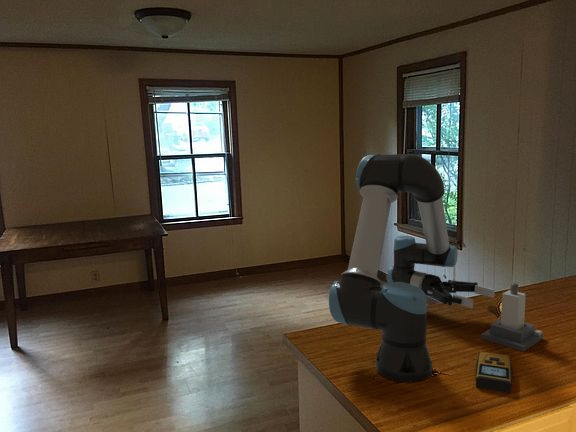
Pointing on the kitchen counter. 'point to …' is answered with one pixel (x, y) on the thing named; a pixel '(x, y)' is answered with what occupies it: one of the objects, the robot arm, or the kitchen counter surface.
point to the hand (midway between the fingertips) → (483, 298)
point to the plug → (513, 308)
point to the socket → (513, 336)
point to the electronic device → (494, 372)
